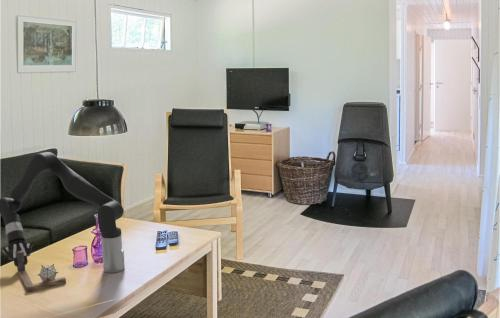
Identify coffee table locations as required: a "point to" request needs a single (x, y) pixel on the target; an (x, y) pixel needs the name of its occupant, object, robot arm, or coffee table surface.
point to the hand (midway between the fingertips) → (21, 265)
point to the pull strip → (26, 279)
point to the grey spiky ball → (47, 273)
